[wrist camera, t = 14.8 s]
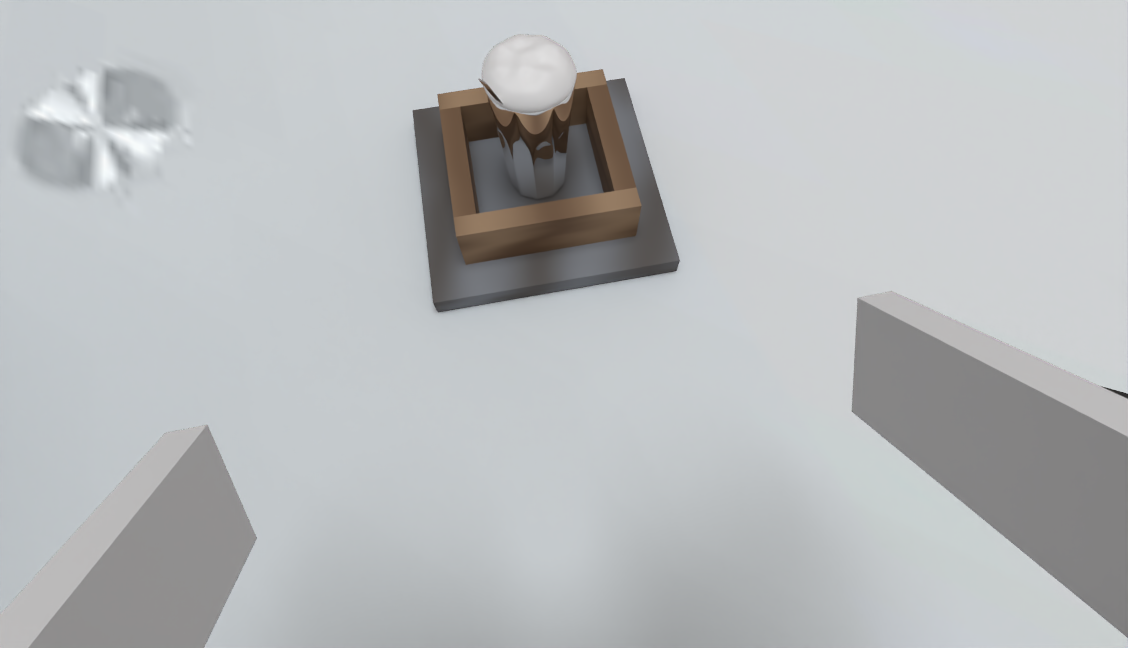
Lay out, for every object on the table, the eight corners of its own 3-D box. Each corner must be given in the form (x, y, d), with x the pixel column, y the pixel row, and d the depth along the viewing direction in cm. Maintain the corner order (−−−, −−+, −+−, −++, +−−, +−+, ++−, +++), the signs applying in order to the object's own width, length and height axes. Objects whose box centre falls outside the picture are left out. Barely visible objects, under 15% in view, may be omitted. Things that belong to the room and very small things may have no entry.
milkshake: (476, 193, 35) (442, 57, 26) (531, 136, 37) (517, -11, 28) (536, 231, 34) (522, 104, 25) (590, 171, 36) (596, 30, 26)
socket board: (437, 311, 33) (420, 277, 29) (417, 123, 39) (399, 74, 35) (676, 270, 34) (689, 232, 30) (623, 91, 40) (628, 39, 36)
